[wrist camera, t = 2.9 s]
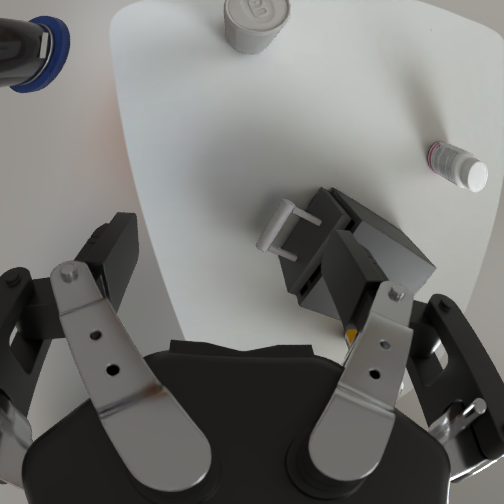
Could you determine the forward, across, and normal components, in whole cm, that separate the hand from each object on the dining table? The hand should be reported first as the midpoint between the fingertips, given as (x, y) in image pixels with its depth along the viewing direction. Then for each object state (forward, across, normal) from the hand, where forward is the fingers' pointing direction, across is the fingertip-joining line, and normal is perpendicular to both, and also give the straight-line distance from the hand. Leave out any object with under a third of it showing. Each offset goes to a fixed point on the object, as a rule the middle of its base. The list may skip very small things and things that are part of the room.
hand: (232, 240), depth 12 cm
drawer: (+21, -13, +11) cm, 27 cm away
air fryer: (+22, -17, +12) cm, 31 cm away
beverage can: (+23, 0, -12) cm, 26 cm away
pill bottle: (+23, -28, -3) cm, 36 cm away
